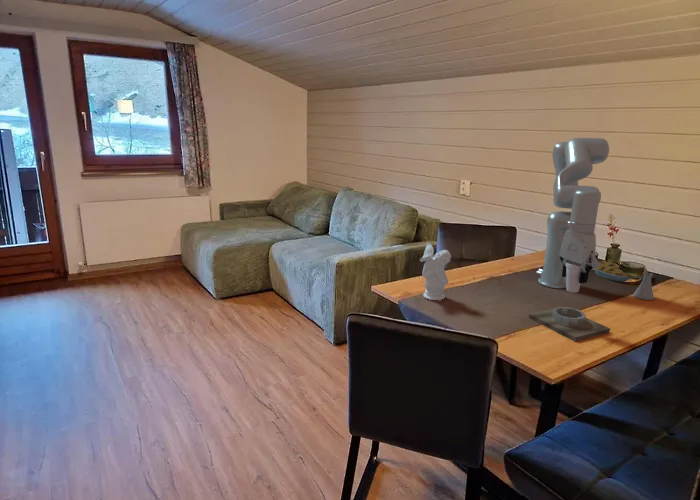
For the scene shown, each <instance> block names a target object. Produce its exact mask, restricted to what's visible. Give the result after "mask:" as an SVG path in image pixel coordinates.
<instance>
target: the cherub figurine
mask: <svg viewBox="0 0 700 500" xmlns="http://www.w3.org/2000/svg"><path fill="white" fill-rule="evenodd" d="M425 246H426V247H425V249H424V251H423V256H422V257H421V258H420V259H419V262H420V263H423V262H424V264H423V269H422V271H421V272H422V273H421V274H422V277H423V278H425V281H424V288H425V292H424V293H423V298H424V299H425V298H426V299H425V300H427V299H429V300H428V301H430V300H438V301H443V300H445V299H444V298H446V295H445V293H444V289H445V287H446V286H448V285H449V279H448V276H447V273H446V271H445V267H446V265H447V264H449V263H450V262H451V258H452V255H451V252H450V251H449V250H448V249H441V250H439V251H438V252H436V253H435V254H434V252H435V249H434V247H433V245H432V244H431V243H430V242H429V241H427V242H426V245H425ZM442 299H443V300H442Z"/></svg>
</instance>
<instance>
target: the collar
mask: <svg viewBox="0 0 700 500" xmlns="http://www.w3.org/2000/svg"><path fill="white" fill-rule="evenodd" d="M565 316H569V317H565ZM570 317H573V318H570ZM585 317H586V313H585V312H584V311H582V310H579V309H578V308H577V309H576V308H572V307H569V306H558V308H557V307H554V310H553V314H552V319H553V321H554V322H556V323H558V324H560V325H563V326H567V327H581V326H583V325H584V323H585ZM586 318H587V317H586Z"/></svg>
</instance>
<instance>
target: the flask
mask: <svg viewBox="0 0 700 500" xmlns="http://www.w3.org/2000/svg"><path fill="white" fill-rule="evenodd" d="M653 276H654V274H653V273H651V272H648V273H644V278H643V280H641V281H640V284H639V286H637V288H636V289H635V292H634V293H633V296H634V297H635V298H637V299H640V300H646V301H654V300H655V295H654V291H653V287H652V277H653Z"/></svg>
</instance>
